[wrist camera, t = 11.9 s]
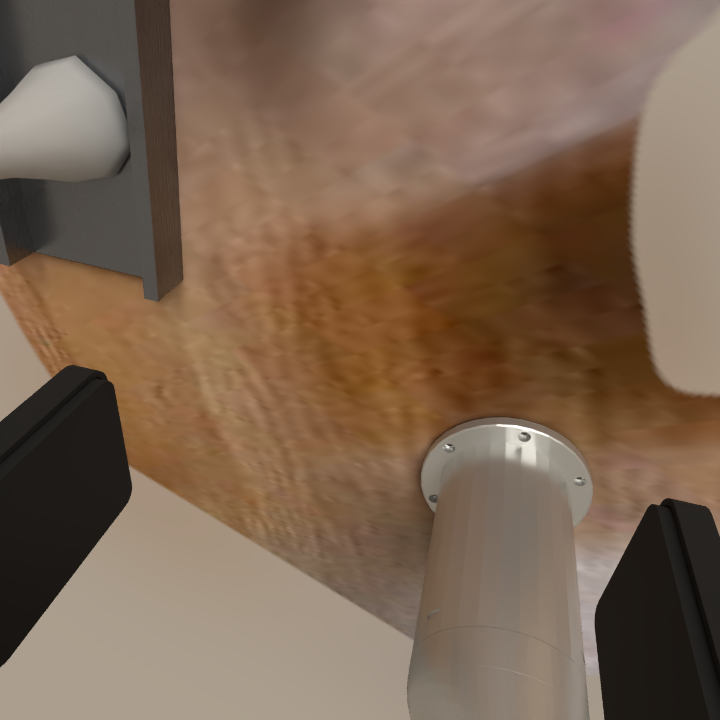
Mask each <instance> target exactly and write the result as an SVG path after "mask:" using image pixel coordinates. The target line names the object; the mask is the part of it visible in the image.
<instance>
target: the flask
mask: <svg viewBox="0 0 720 720" xmlns="http://www.w3.org/2000/svg"><path fill="white" fill-rule="evenodd" d="M129 153H130V142H129V131H128V122H127V119H126V117H125V114H124V112H123V109H122V106H121V104H120V101H119V98H118V96H117V93H116V92H115V91H114V90H113V89H112V88H111V87H110V86H108V85H107V84H106V83H105V82H104V81H103V80H102V79H101V78H100V77H99V76H97V75H96V74H95V73H94V72H93V71H92V70H91V69H90V68H89V67H88V66H86V65H85V64H84V63H83V62H82V61H81V60H80V59H79V58H78V57H77V56H70V57H66V58H62V59H58V60H54V61H50V62H46V63H42V64H38V65H35V66H34V67H33V68H32V69H31V70H30V71H29V73H28V74H27V75H26V76H25V77H24V78H23V79H22V81H21V82H20V83H19V84H18V85H17V86H16V88H15V89H14V90H13V91H12V92H11V93H10V94H9V95H8V96H7V97H6V98H5V99H4V100H3V101H2V102H1V103H0V180H1V179H7V178H30V179H47V180H56V181H66V182H85V181H91V180H97V179H103V178H109V177H115V176H116V175H117V173H118V172H119V170H120V168H121V167H122V165H123V163H124V162H125V160H126V158H127V156H128V155H129Z"/></svg>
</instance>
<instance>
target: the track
mask: <svg viewBox="0 0 720 720" xmlns="http://www.w3.org/2000/svg"><path fill="white" fill-rule="evenodd" d="M70 56H77V57H78V58H79V59H80V60H81V61H82V62H83V63H84V64H85V65H86V66H88V67H89V68H90V69H91V70H92V71H93V72H94V73H95V74H96V75H97V76H99V77H100V78H101V79H102V80H103V81H104V82H105V83H106V84H107V85H108V86H110V87H111V88H112V89H113V90H114V91H115V92H116V93H117V96H118V98H119V101H120V104H121V106H122V109H123V112H124V114H125V117H126V119H127V122H128V131H129V142H130V153H129V155H128V156H127V158H126V160H125V162H124V163H123V165H122V167H121V168H120V170H119V172H118V173H117V175H116V176H115V177H109V178H103V179H97V180H91V181H85V182H66V181H56V180H47V179H30V178H7V179H1V180H0V264H4V265H8V266H11V265H13V264H15V263H16V262H18V261H20V260H22V259H23V258H25V257H27V256H28V255H30V254H32V253H34V252H38V253H42V254H46V255H50V256H55V257H59V258H63V259H67V260H71V261H76V262H80V263H84V264H88V265H93V266H97V267H101V268H105V269H110V270H114V271H118V272H122V273H127V274H131V275H135V276H139V277H143V288H144V298H145V299H149V300H154V301H158V302H159V301H160V300H161V299H162V298H163V297H164V296H165V295H166V294H167V293H168V292H170V291H171V290H172V289H173V288H174V287H175V286H176V285H177V284H178V283H179V282H181V281H182V280H183V266H182V247H181V227H180V208H179V189H178V169H177V150H176V130H175V111H174V91H173V72H172V52H171V33H170V13H169V0H0V103H1V102H2V101H3V100H4V99H5V98H6V97H7V96H8V95H9V94H10V93H11V92H12V91H13V90H14V89H15V88H16V86H17V85H18V84H19V83H20V82H21V81H22V79H23V78H24V77H25V76H26V75H27V74H28V73H29V71H30V70H31V69H32V68H33V67H34V66H35V65H38V64H42V63H46V62H50V61H54V60H58V59H62V58H66V57H70Z"/></svg>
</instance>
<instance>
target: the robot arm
mask: <svg viewBox="0 0 720 720" xmlns="http://www.w3.org/2000/svg"><path fill="white" fill-rule="evenodd" d="M421 488H422V491H423V495H424V498H425V500H426V502H427V503H428V505H429V507H430V508H431V510H432V511H433V512H434V513H435V517H434V523H433V529H432V535H431V541H430V548H429V554H428V560H427V566H426V572H425V578H424V584H423V590H422V596H421V602H420V608H419V614H418V620H417V626H416V632H415V638H414V644H413V651H412V656H411V661H410V668H409V674H408V682H407V702H408V708H409V713H410V718H411V720H590V717H589V706H588V696H587V685H586V671H585V658H584V647H583V636H582V625H581V614H580V602H579V590H578V578H577V567H576V555H575V543H574V531H573V528H575V527H576V526H577V525H578V524H579V523H580V522H581V521H582V519H583V518H584V517H585V515H586V514H587V512H588V510H589V507H590V505H591V502H592V494H593V486H592V478H591V473H590V470H589V467H588V464H587V462H586V461H585V459H584V457H583V456H582V454H581V453H580V451H579V450H578V449H577V448H576V447H575V446H574V445H573V444H572V443H571V442H570V441H569V440H567V439H566V438H564V437H563V436H561V435H560V434H559V433H557V432H556V431H553V430H551V429H549V428H547V427H545V426H543V425H540V424H537V423H534V422H530V421H527V420H522V419H515V418H507V417H494V418H483V419H477V420H472V421H469V422H466V423H463V424H460V425H457V426H456V427H454V428H452V429H450V430H448V431H447V432H445V433H444V434H443V435H441V436H440V437H439V438H438V439H437V440H436V441H435V442H434V443H433V444H432V446H431V447H430V448H429V450H428V451H427V454H426V456H425V459H424V461H423V466H422V471H421ZM131 492H132V482H131V477H130V471H129V466H128V460H127V455H126V449H125V444H124V438H123V433H122V427H121V422H120V416H119V411H118V405H117V400H116V395H115V389H114V386H113V384H112V383H111V382H109V381H108V380H107V377H106V375H105V374H104V373H103V372H101V371H97V370H93V369H88V368H84V367H79V366H75V365H70V366H67V367H65V368H64V369H63V370H61V371H60V372H59V373H58V374H57V375H55V376H54V377H53V378H52V379H51V380H49V381H48V382H47V383H46V384H45V385H43V386H42V387H41V388H40V389H39V390H38V391H36V392H35V393H34V394H33V395H32V396H30V397H29V398H28V399H27V400H26V401H24V402H23V403H22V404H21V405H20V406H18V407H17V408H16V409H15V410H14V411H12V412H11V413H10V414H9V415H8V416H7V417H5V418H4V419H3V420H2V421H1V422H0V667H1V666H2V665H3V664H5V662H6V661H7V660H8V659H9V658H10V657H11V655H12V654H13V653H14V651H15V650H16V649H17V647H18V646H19V645H20V644H21V642H22V641H23V640H24V638H25V637H26V636H27V634H28V633H29V632H30V630H31V629H32V628H33V627H34V625H35V624H36V623H37V621H38V620H39V619H40V617H41V616H42V614H43V613H44V612H45V611H46V609H47V608H48V607H49V606H50V604H51V603H52V602H53V600H54V599H55V598H56V596H57V595H58V594H59V592H60V591H61V590H62V588H63V587H64V586H65V585H66V583H67V582H68V581H69V579H70V578H71V577H72V575H73V574H74V573H75V571H76V570H77V569H78V568H79V566H80V565H81V564H82V562H83V561H84V560H85V558H86V557H87V556H88V554H89V553H90V552H91V550H92V549H93V548H94V547H95V545H96V544H97V542H98V541H99V540H100V539H101V537H102V536H103V535H104V533H105V532H106V531H107V529H108V528H109V527H110V525H111V524H112V523H113V522H114V520H115V519H116V518H117V516H118V515H119V513H120V512H121V511H122V510H123V508H124V507H125V506H126V504H127V503H128V501H129V499H130V496H131ZM595 634H596V643H597V653H598V662H599V671H600V681H601V690H602V700H603V709H604V719H605V720H720V536H719V534H718V531H717V528H716V525H715V522H714V519H713V516H712V514H711V512H710V510H709V509H708V508H707V507H706V506H701V505H697V504H692V503H688V502H683V501H679V500H674V499H670V498H666V499H665V500H663V501H662V503H661V504H660V506H659V505H655V504H651V505H650V506H649V507H648V509H647V510H646V512H645V514H644V516H643V518H642V520H641V522H640V524H639V525H638V527H637V529H636V531H635V533H634V535H633V537H632V539H631V541H630V543H629V545H628V547H627V548H626V550H625V552H624V554H623V556H622V558H621V560H620V562H619V564H618V566H617V568H616V569H615V571H614V573H613V575H612V577H611V579H610V581H609V583H608V585H607V587H606V589H605V590H604V592H603V594H602V596H601V598H600V600H599V602H598V604H597V608H596V612H595Z"/></svg>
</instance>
